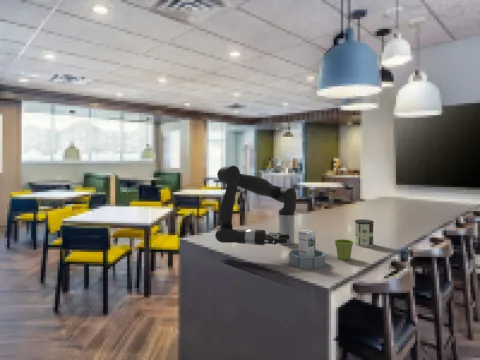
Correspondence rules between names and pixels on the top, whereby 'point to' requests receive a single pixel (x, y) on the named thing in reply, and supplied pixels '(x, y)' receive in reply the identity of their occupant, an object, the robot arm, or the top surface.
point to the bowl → (307, 260)
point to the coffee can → (364, 233)
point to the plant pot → (343, 248)
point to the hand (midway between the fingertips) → (288, 239)
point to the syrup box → (306, 243)
